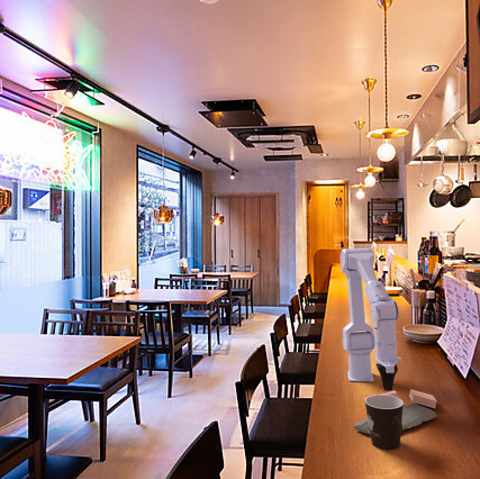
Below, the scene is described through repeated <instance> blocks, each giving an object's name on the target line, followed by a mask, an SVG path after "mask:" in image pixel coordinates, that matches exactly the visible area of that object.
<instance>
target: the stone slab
mask: <svg viewBox="0 0 480 479" xmlns="http://www.w3.org/2000/svg"><path fill="white" fill-rule="evenodd" d="M436 417H437V413H436V412H435V411H433V410H432V409H430V408H427V407H426V406H424V405H420V404H418V403H411V404H406V405H403V412H402V428H403V431H405V430H408V429H411V428H413V427H417V426H419V425H422V423H424V422H429V421H431V420H433V419H434V418H436ZM353 428H354V429H355V430H357V431H359V432H360V433H363V434H367V435H370V430H369V424H368V417H366V418H364V419H361V420H359V421H357V423H355V424H353Z"/></svg>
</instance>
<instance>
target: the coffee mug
mask: <svg viewBox="0 0 480 479" xmlns="http://www.w3.org/2000/svg"><path fill="white" fill-rule="evenodd" d="M364 404H365V410H366V411H365V412H366V416H367V417H366V418H368V424H369V430H370V434H369V435H370V441H371V444H372V446H373V447H375V448H376V449H380V450H383V451H395V450H397V449H399V448H400V446H401V437H402V434H403V431H404V430H403V428H402V412H403V406H404V401H403V399H401V398H400V397H399V398H397V397H394V396H390V395H379V394H374V395H373V394H372V395H369V396H367V397H366V398H364Z"/></svg>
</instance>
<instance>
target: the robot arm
mask: <svg viewBox="0 0 480 479" xmlns="http://www.w3.org/2000/svg"><path fill="white" fill-rule="evenodd" d="M339 257H340V258H339V260H340V269H341V274H342V273H343V274H345V275H346V283H347V295H348V306H349V320H350V322H349V323H348V324H347V325H346V326H344V328H343V329H342V346H343V349H344V351H346V352H347V354H348V370H347V377H348V382H375V380H374V376H373V372H372V360H371V359H372V358H371V354H372V353H373V350H374V349H375V357H374V358H375V360H374V361H375V362H377V363H375V366H376V369H377V371H378V374H379V376H380V378H381V384H382V388H383V391H384V392H391V391H393V388H394V381H395V378H396V374H397V373H398V370H399V367H398V365H397V363H398V362H402V358H401V357H400V356H398V354H397V351H398V350H397V327H396V326H397V325H396V321H397V320H398V319H399V315H400V311H399V306H398V303H397V301H396V300H395V299H393V298H392V297H390V295H389V294H388V291H387V289H386V287H385V284H384V283H383V282H382V281H379V280H378V278H377V275H376V272H375V270H374V269H375V268H374V264H375V252H374V250H373V249H372V247H363V248H362V247H359V248H343V249H342V250H341V252H340V255H339ZM362 280H363V281H362ZM363 282H364V284H365V286H364V289H363ZM363 290H364V292H363ZM364 293H365V294H366V297H367V299H368V301H369V304H370V316H371V320H372V326H373V327H374V328H373V327H372V326H371V325H370V324H368V323H367V322H366V317H365V316H366V314H365V304H364Z"/></svg>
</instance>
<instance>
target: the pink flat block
mask: <svg viewBox="0 0 480 479" xmlns="http://www.w3.org/2000/svg"><path fill="white" fill-rule="evenodd" d="M409 398H410V400H411V402H412V403H413V404H417V405H420V406H424V407H428V408H433V409H436V406H437V402H438V401H437V400H436V398H435V396H434V395H432V394H429V393H427V392H426V393H425V392H421V391H419V390H415V389H411V388H410V391H409Z"/></svg>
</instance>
